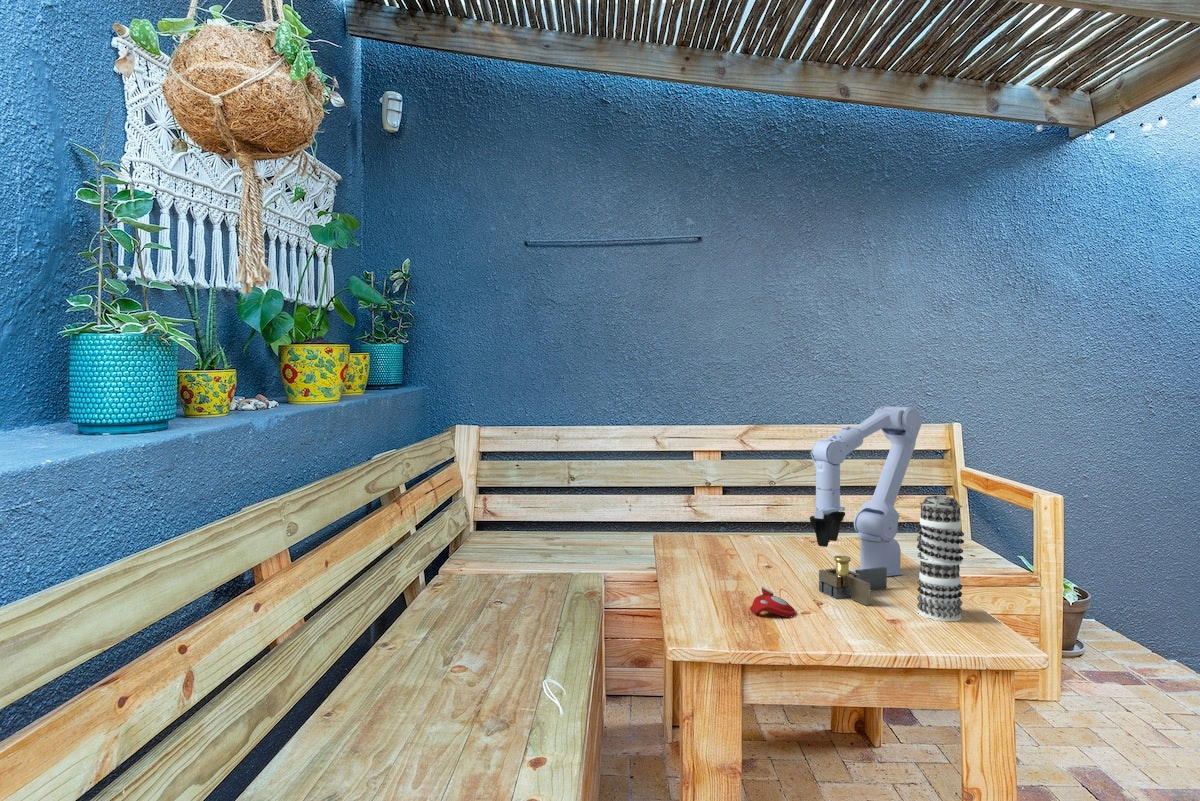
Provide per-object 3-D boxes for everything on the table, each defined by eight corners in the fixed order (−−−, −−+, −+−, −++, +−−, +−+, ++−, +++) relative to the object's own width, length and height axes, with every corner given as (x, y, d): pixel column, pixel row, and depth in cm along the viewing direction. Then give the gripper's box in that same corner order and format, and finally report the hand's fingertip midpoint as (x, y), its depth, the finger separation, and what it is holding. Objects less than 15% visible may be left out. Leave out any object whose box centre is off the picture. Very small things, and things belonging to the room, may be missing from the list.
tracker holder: (806, 610, 153) (772, 606, 148) (799, 629, 153) (764, 626, 149) (770, 583, 164) (737, 578, 159) (763, 601, 164) (730, 597, 159)
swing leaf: (818, 590, 170) (818, 570, 170) (842, 587, 172) (842, 567, 172) (855, 606, 158) (855, 585, 157) (880, 603, 160) (880, 582, 160)
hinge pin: (843, 591, 170) (843, 555, 170) (853, 595, 167) (853, 558, 166) (830, 592, 169) (831, 556, 169) (840, 597, 165) (840, 560, 165)
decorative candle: (905, 611, 155) (906, 495, 154) (937, 606, 158) (938, 493, 158) (941, 624, 146) (942, 502, 146) (973, 618, 150) (974, 499, 149)
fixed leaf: (836, 599, 164) (836, 577, 164) (818, 591, 170) (818, 570, 170) (894, 592, 169) (895, 571, 169) (875, 584, 175) (875, 564, 175)
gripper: (835, 493, 170) (835, 551, 170) (852, 486, 182) (852, 539, 182) (806, 491, 174) (805, 547, 174) (824, 484, 186) (824, 536, 186)
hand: (827, 543), depth 179 cm, fingers open, 7 cm apart
